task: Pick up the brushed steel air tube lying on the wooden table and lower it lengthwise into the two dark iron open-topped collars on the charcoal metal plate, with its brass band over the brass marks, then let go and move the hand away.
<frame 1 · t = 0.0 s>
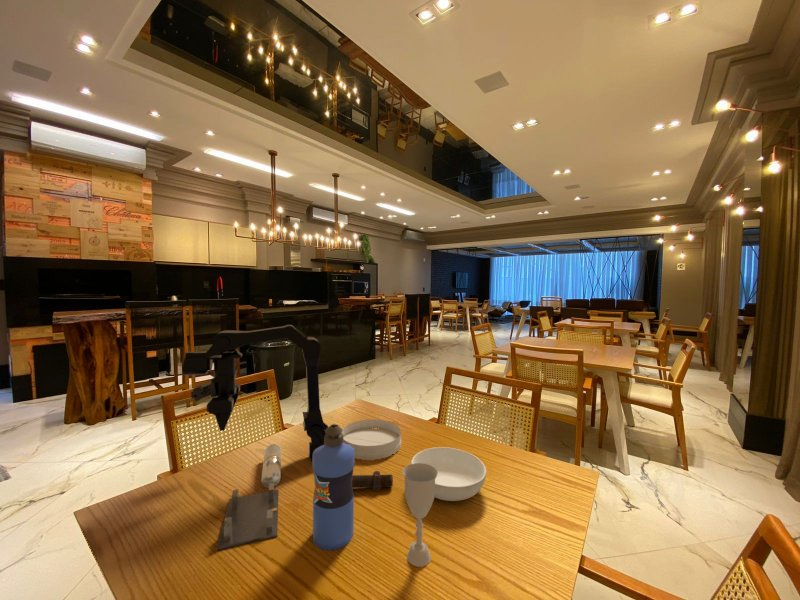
hand: (225, 424, 97), 15 cm above the table, tool pointing down, fingers open, 9 cm apart
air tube: (271, 472, 98), on the table
bolt: (365, 490, 90), on the table
chalice: (418, 557, 67), on the table
dish: (370, 445, 116), on the table
water bottle: (333, 535, 73), on the table
serving bowl: (447, 488, 91), on the table
collar cradle: (251, 517, 78), on the table
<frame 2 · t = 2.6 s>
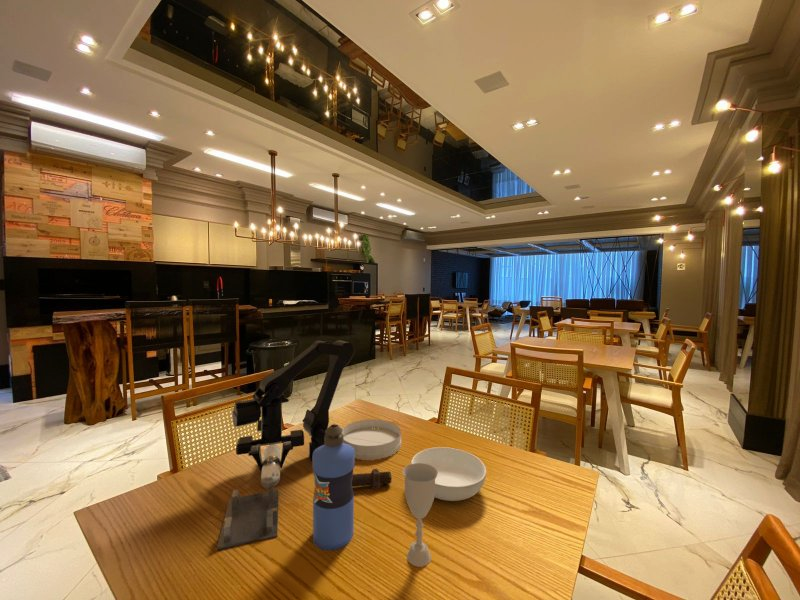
hand: (271, 469, 98), 1 cm above the table, tool pointing down, fingers closed on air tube, 5 cm apart
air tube: (271, 472, 98), on the table, touching gripper
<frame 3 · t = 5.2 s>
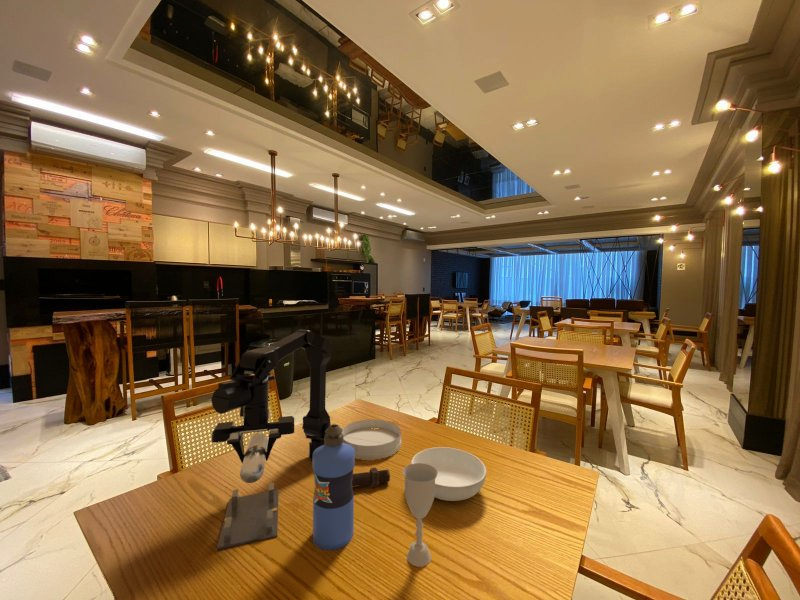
hand: (255, 461, 82), 12 cm above the table, tool pointing down, fingers closed on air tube, 5 cm apart
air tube: (255, 465, 82), point 11 cm above the table, touching gripper
when the fingers open (3 cm above the table, at t = 7.9 s): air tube drops 1 cm, resting on collar cradle.
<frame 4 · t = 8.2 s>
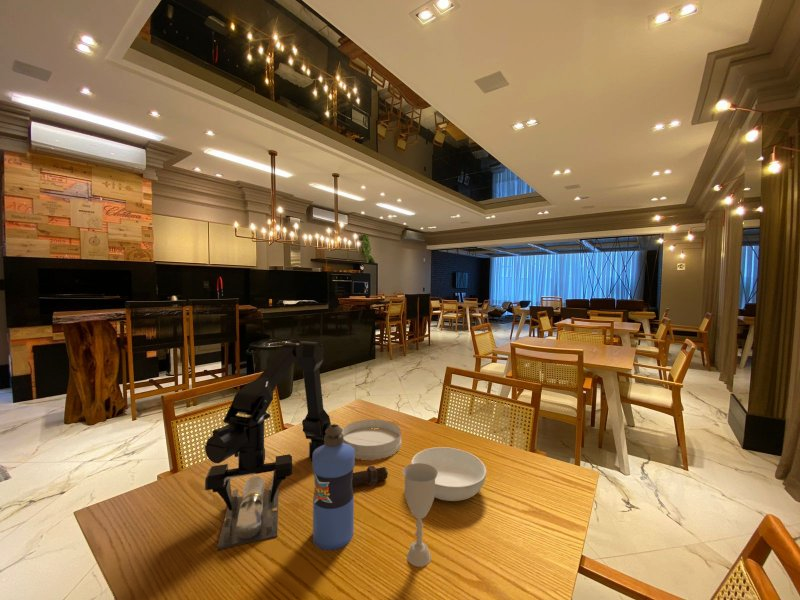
hand: (251, 505, 78), 3 cm above the table, tool pointing down, fingers open, 9 cm apart
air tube: (252, 514, 79), point 1 cm above the table, touching collar cradle
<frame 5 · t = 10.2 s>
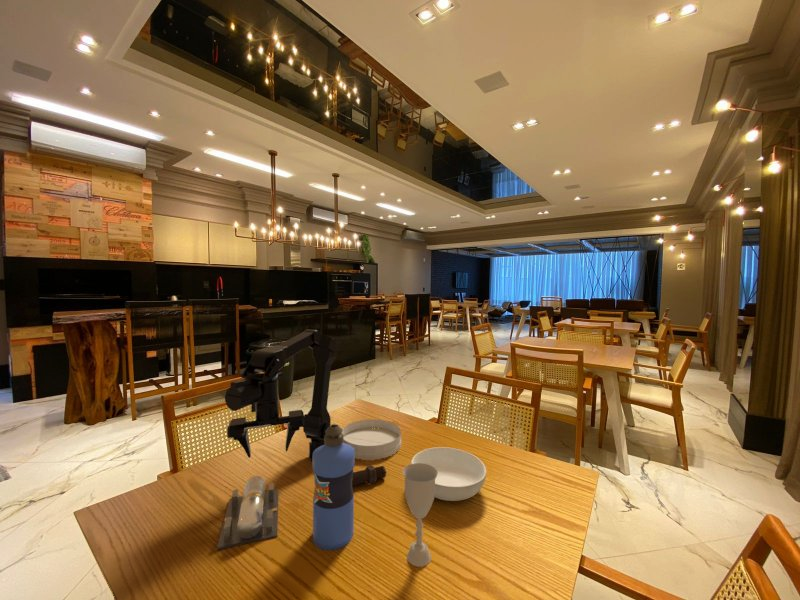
hand: (268, 453, 87), 11 cm above the table, tool pointing down, fingers open, 9 cm apart
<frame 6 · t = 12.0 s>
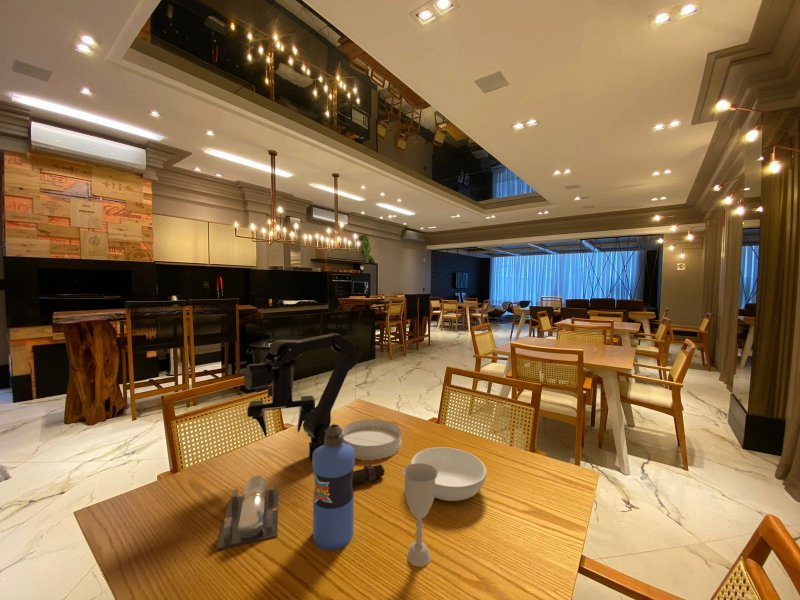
hand: (282, 433, 97), 12 cm above the table, tool pointing down, fingers open, 9 cm apart
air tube: (252, 514, 79), point 1 cm above the table, tilted 5°, touching collar cradle
at the end: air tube 0.2 cm off-centre on the collar cradle, point 0.7 cm above the collar cradle's base; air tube tilted 6°; the gripper is holding nothing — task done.
